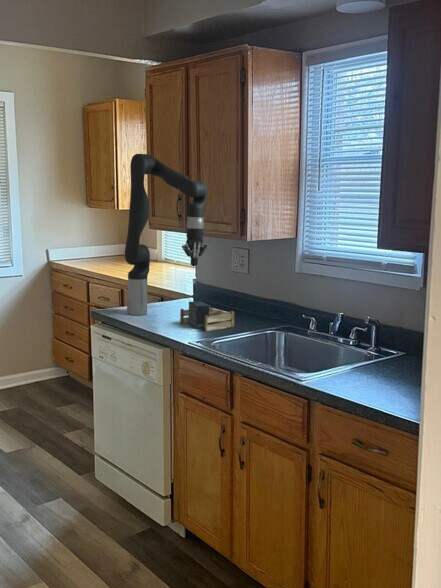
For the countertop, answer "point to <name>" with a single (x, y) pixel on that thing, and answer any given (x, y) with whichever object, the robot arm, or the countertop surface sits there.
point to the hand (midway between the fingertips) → (193, 265)
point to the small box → (197, 314)
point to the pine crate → (212, 319)
